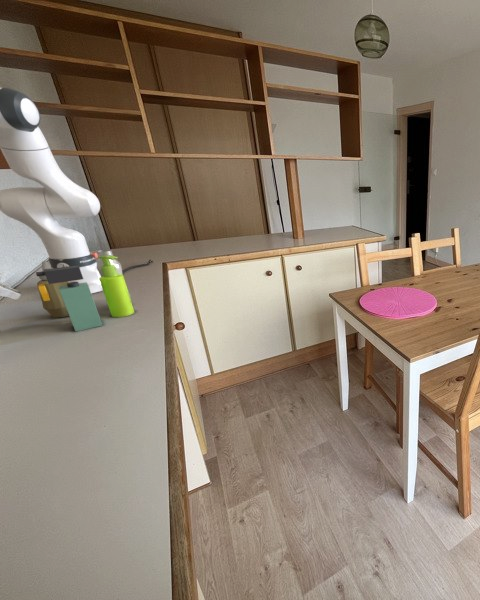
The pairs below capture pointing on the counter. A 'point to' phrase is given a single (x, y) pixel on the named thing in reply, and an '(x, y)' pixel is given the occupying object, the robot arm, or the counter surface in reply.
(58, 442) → the counter surface
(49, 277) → the spray bottle
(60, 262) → the robot arm
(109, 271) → the soap dispenser
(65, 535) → the counter surface
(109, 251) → the plastic bottle
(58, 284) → the squeeze bottle
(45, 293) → the block
